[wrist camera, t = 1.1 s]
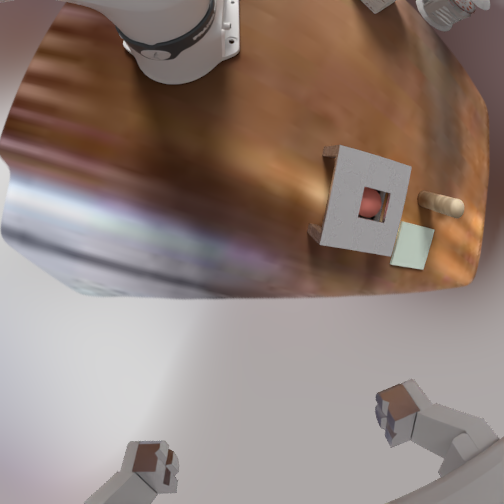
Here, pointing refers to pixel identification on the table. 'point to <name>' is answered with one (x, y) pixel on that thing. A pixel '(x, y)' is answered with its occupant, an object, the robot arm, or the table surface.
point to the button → (370, 203)
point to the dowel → (441, 204)
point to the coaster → (412, 246)
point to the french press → (448, 11)
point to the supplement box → (377, 4)
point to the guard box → (349, 201)
